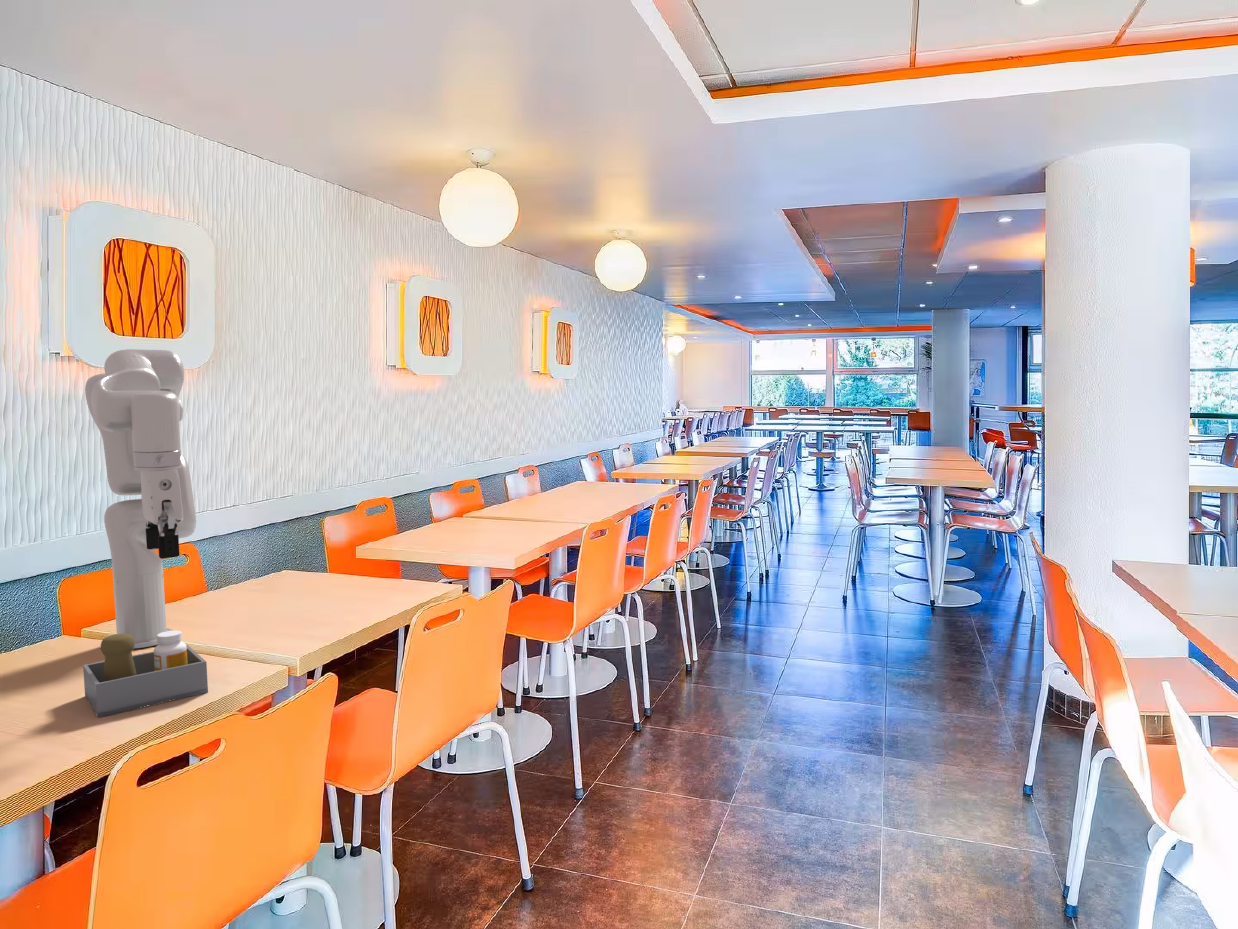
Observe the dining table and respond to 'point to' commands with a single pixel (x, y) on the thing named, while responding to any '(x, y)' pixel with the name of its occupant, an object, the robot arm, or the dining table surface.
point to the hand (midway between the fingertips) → (162, 552)
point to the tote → (144, 684)
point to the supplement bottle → (170, 651)
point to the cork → (118, 656)
